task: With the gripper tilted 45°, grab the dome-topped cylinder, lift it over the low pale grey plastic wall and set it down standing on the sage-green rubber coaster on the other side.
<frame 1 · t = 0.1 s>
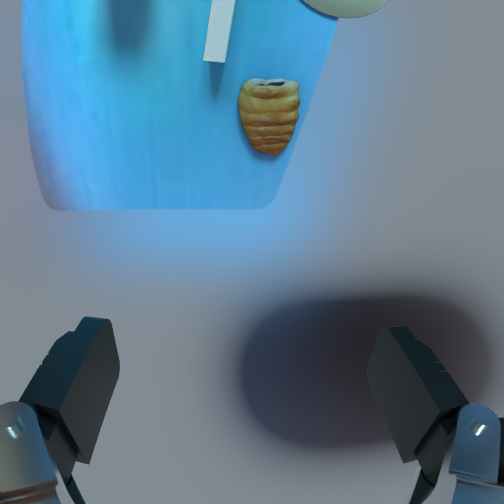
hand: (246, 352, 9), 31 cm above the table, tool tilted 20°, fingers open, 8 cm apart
pastry: (269, 107, 35), on the table
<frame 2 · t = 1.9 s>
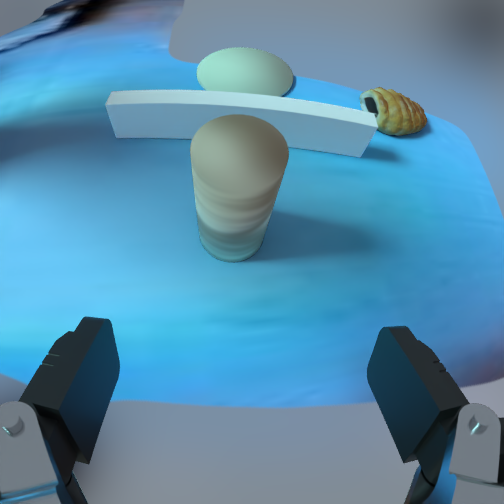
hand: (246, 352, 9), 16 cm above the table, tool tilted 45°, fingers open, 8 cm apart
pastry: (387, 119, 36), on the table
dome-topped cylinder: (231, 231, 27), on the table
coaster: (245, 73, 36), on the table
wall: (239, 135, 31), on the table
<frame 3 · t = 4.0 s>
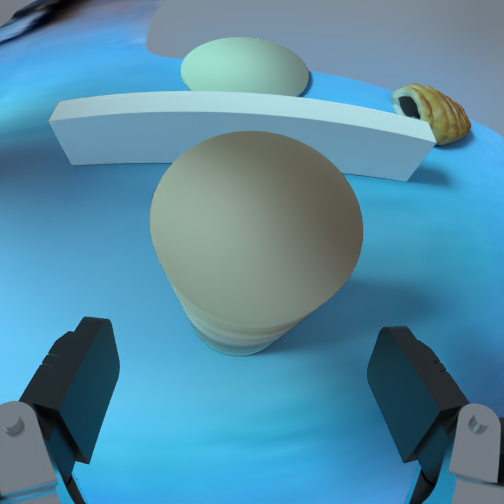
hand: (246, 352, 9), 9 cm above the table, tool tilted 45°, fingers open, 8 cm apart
pastry: (425, 123, 27), on the table
dome-topped cylinder: (237, 308, 18), on the table
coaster: (245, 68, 27), on the table
wall: (241, 154, 22), on the table
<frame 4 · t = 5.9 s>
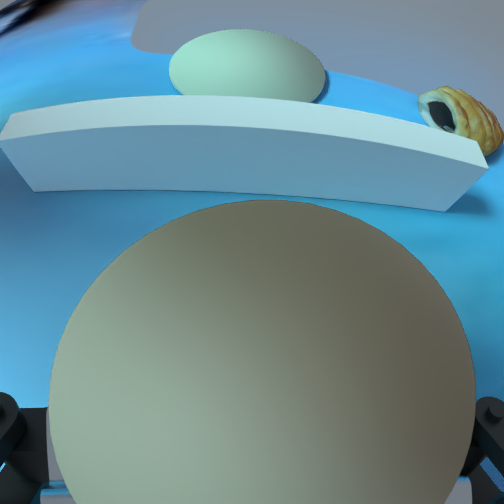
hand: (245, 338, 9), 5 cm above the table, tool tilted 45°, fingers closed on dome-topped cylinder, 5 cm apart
pastry: (455, 133, 22), on the table
dome-topped cylinder: (238, 391, 13), on the table, touching gripper
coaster: (247, 66, 22), on the table
wall: (243, 177, 17), on the table
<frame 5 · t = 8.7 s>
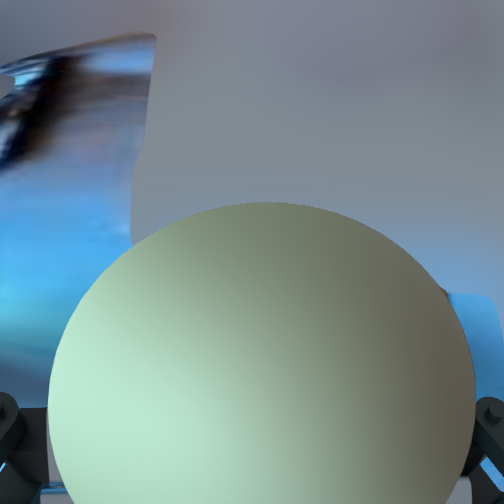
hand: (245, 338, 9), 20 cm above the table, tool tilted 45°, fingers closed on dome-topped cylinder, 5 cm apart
dome-topped cylinder: (238, 391, 13), point 15 cm above the table, touching gripper
when the fingers open (7 cm above the table, at t = 11.9 s): dome-topped cylinder drops 2 cm, resting on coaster.
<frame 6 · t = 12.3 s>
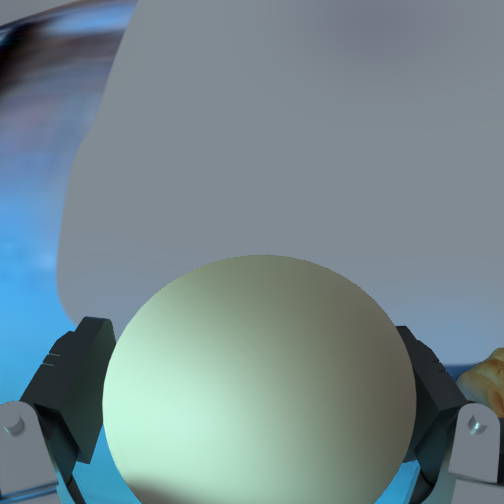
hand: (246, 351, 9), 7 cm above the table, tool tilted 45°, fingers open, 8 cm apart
pastry: (487, 394, 16), on the table
dome-topped cylinder: (237, 392, 15), resting on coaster
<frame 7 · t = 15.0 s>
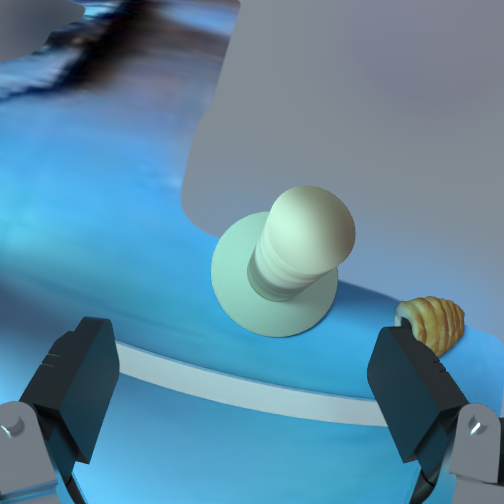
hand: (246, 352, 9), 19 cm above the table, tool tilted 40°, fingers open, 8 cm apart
pastry: (420, 327, 30), on the table
dome-topped cylinder: (277, 272, 29), resting on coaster
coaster: (276, 272, 30), on the table
wall: (248, 389, 26), on the table
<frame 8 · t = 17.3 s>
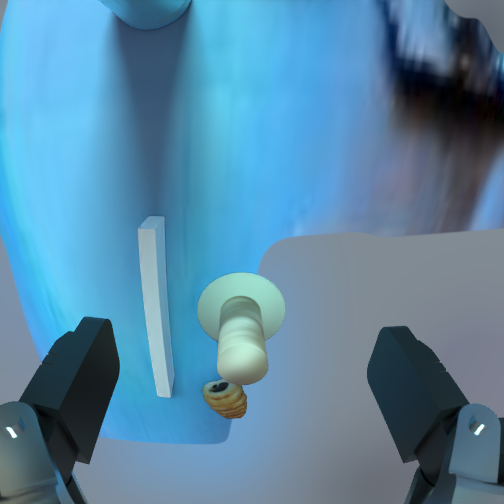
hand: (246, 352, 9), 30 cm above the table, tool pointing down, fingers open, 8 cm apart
pastry: (227, 391, 50), on the table
dome-topped cylinder: (240, 313, 43), resting on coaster
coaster: (241, 311, 44), on the table
wall: (161, 307, 43), on the table
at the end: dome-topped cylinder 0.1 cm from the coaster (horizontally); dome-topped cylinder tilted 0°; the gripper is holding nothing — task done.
